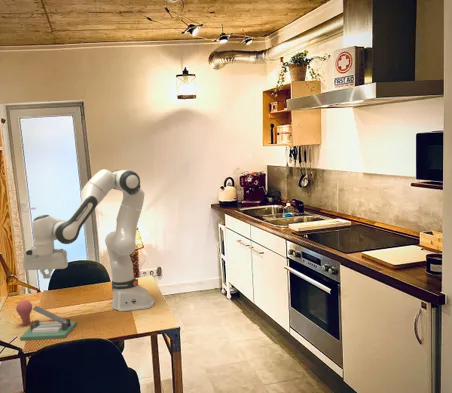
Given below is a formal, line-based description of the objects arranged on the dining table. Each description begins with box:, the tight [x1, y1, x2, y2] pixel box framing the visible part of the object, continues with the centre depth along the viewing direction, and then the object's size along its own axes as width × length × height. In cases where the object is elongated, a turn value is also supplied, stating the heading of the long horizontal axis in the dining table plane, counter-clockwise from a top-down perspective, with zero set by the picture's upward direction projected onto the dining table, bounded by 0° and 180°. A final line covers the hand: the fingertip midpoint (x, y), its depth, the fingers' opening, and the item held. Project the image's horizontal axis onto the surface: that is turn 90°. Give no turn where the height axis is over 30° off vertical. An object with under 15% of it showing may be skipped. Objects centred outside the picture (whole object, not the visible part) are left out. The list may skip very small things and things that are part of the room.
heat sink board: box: [19, 317, 78, 341], centre depth 211 cm, size 20×16×5 cm
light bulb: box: [15, 299, 33, 326], centre depth 222 cm, size 7×7×12 cm
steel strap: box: [32, 305, 69, 324], centre depth 211 cm, size 17×3×2 cm, turn 89°
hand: (47, 278), depth 218 cm, fingers closed
